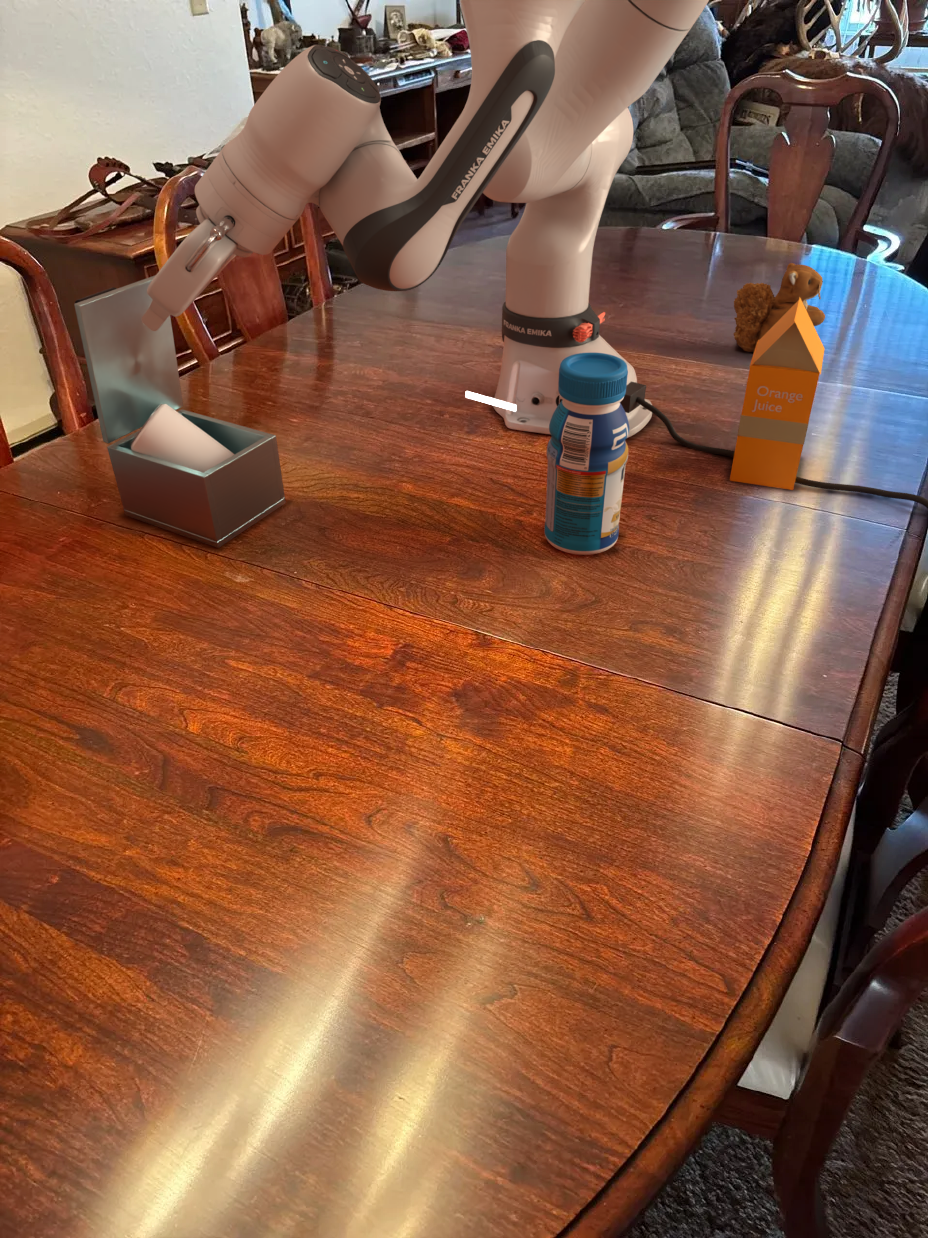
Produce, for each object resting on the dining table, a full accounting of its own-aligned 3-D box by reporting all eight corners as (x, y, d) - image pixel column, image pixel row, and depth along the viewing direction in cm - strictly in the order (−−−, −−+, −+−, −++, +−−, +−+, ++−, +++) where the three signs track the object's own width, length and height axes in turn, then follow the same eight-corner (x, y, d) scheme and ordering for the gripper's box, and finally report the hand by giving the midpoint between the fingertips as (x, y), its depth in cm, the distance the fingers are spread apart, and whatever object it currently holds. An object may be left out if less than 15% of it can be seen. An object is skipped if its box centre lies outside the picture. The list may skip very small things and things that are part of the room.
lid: (164, 275, 100) (130, 264, 102) (79, 305, 92) (43, 293, 94) (183, 406, 110) (151, 394, 112) (108, 443, 102) (75, 430, 104)
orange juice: (728, 480, 112) (757, 317, 101) (737, 449, 119) (765, 293, 107) (794, 490, 110) (832, 324, 98) (800, 458, 117) (836, 299, 105)
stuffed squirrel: (814, 365, 142) (834, 278, 134) (721, 355, 146) (734, 269, 138) (818, 344, 149) (836, 259, 141) (729, 334, 153) (742, 252, 145)
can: (140, 434, 106) (228, 497, 110) (121, 456, 101) (213, 521, 105) (169, 393, 103) (258, 459, 107) (150, 413, 98) (244, 482, 102)
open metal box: (286, 503, 109) (276, 434, 104) (218, 548, 101) (203, 477, 96) (195, 474, 116) (182, 408, 110) (125, 515, 108) (106, 446, 102)
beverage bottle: (529, 527, 104) (535, 355, 92) (595, 512, 107) (609, 342, 95) (565, 565, 98) (576, 385, 86) (633, 547, 100) (654, 371, 89)
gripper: (243, 261, 81) (157, 368, 87) (291, 206, 97) (217, 299, 104) (183, 207, 78) (100, 321, 85) (243, 159, 95) (170, 258, 101)
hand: (164, 308), depth 94 cm, fingers open, 8 cm apart
